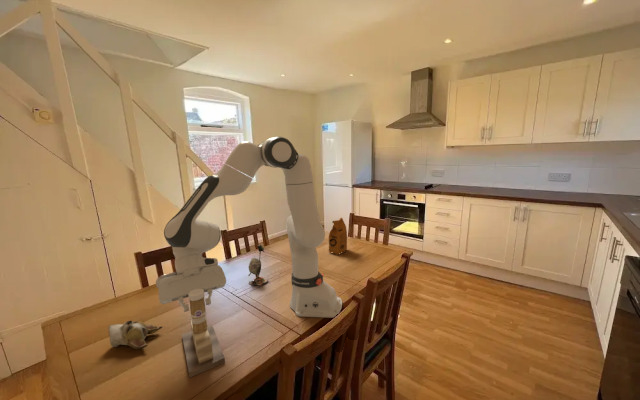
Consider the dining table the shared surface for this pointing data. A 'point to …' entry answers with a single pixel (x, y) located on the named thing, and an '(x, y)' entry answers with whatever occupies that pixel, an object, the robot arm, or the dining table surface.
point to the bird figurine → (256, 269)
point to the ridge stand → (202, 350)
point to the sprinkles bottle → (198, 310)
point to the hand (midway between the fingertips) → (197, 307)
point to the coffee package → (338, 237)
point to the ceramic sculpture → (131, 334)
